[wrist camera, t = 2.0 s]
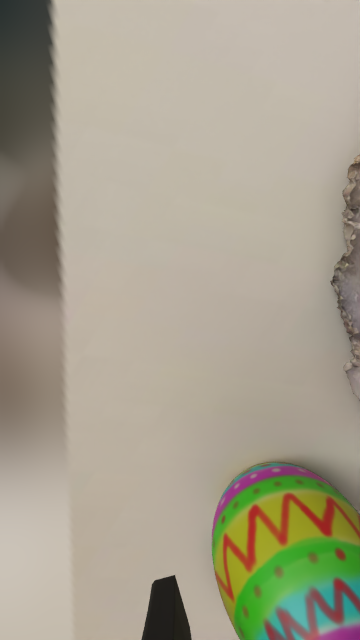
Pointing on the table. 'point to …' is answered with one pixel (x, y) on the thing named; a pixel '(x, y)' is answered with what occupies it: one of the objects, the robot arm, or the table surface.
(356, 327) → the decorative stone
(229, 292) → the table surface
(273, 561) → the egg
